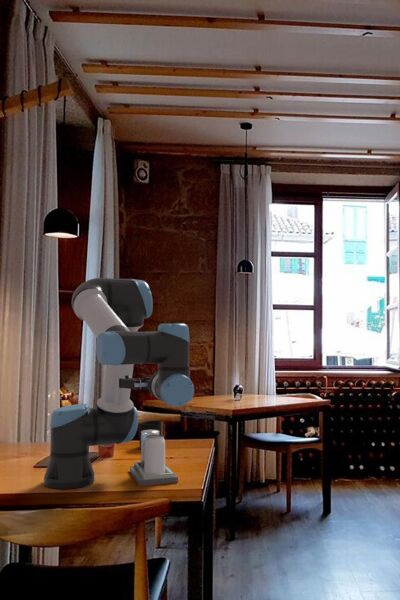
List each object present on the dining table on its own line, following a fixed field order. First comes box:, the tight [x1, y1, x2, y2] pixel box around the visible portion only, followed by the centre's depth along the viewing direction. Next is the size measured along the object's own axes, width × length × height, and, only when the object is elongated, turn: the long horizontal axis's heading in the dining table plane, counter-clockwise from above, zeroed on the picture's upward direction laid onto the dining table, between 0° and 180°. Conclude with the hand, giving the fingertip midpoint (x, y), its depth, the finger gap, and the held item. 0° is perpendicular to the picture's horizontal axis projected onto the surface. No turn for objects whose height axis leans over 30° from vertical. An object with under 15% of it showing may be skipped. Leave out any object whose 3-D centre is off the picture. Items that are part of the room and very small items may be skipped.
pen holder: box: [138, 420, 163, 448], centre depth 217 cm, size 9×9×10 cm
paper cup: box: [97, 444, 116, 459], centre depth 201 cm, size 8×8×14 cm
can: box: [144, 435, 166, 475], centre depth 166 cm, size 6×6×12 cm
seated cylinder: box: [140, 430, 159, 468], centre depth 175 cm, size 6×6×12 cm
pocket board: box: [129, 461, 179, 487], centre depth 170 cm, size 12×18×3 cm, turn 16°
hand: (149, 379), depth 156 cm, fingers open, 13 cm apart
